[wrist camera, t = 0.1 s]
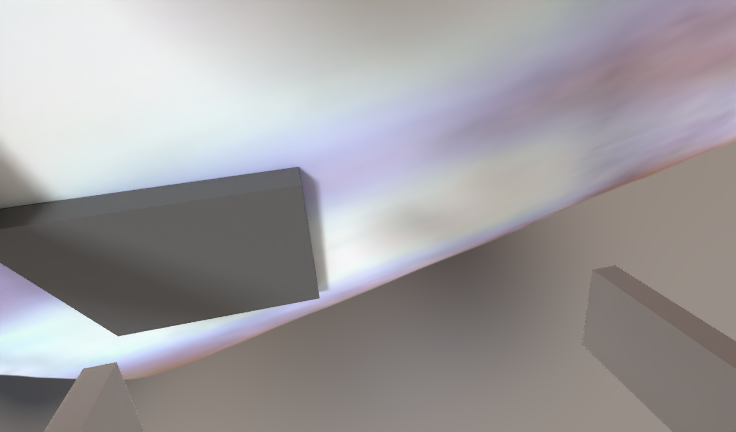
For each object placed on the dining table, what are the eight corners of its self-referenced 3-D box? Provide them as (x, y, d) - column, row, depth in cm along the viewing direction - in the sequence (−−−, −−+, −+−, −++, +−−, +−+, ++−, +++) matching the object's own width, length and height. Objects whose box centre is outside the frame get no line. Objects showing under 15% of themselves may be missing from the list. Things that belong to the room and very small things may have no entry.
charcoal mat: (-36, 214, 25) (-44, 235, 24) (298, 167, 28) (301, 184, 27) (119, 321, 42) (118, 336, 41) (317, 285, 45) (319, 298, 44)
